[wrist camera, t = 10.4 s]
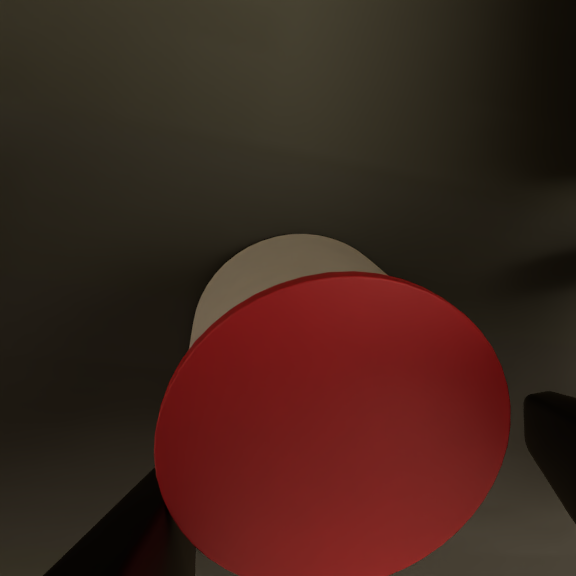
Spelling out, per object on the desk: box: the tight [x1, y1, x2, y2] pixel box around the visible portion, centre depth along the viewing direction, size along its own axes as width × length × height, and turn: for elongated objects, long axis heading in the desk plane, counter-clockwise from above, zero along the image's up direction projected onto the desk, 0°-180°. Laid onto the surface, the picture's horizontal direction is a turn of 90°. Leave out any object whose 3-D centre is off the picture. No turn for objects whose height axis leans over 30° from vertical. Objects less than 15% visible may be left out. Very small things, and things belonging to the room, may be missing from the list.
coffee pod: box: [154, 234, 510, 576], centre depth 8 cm, size 5×5×4 cm
